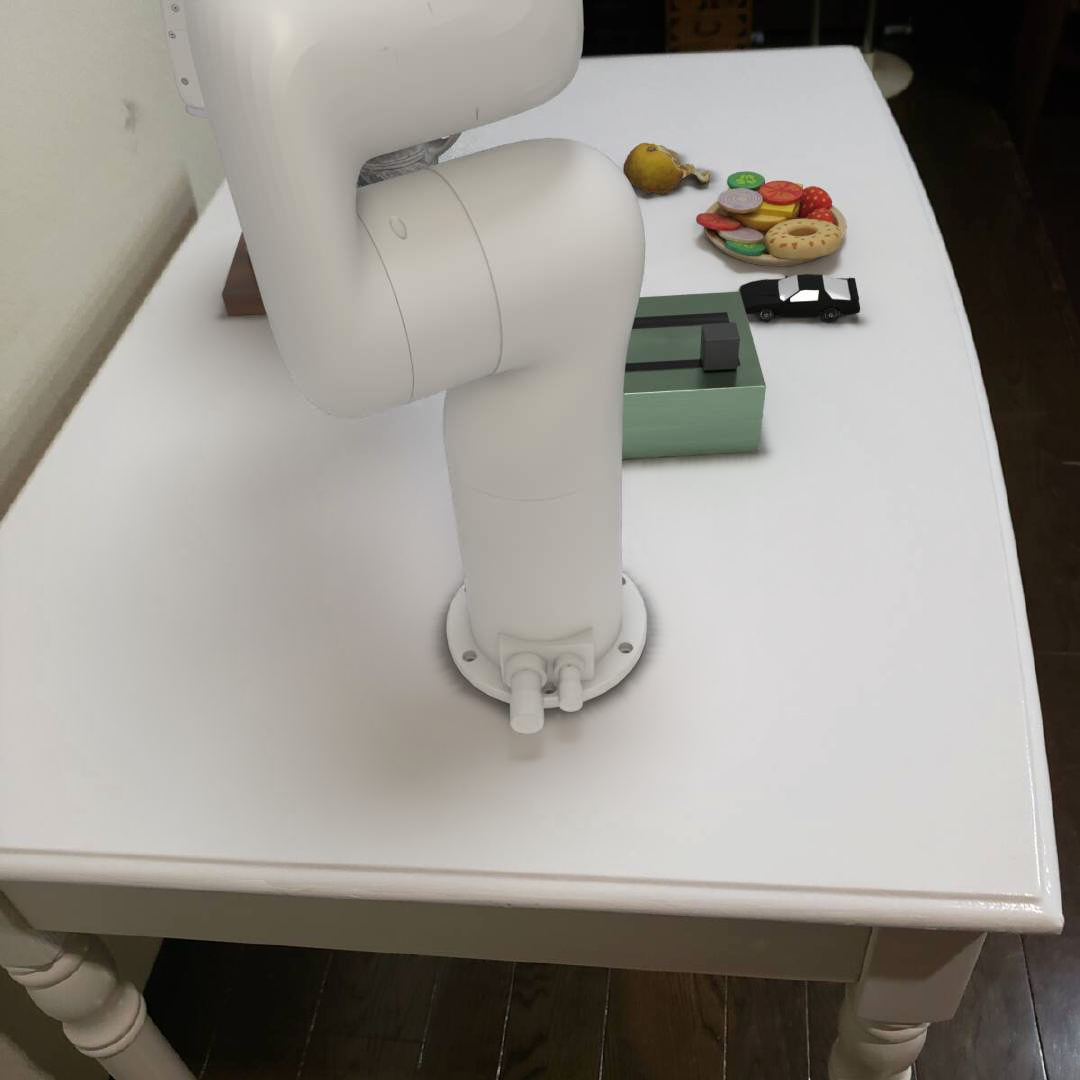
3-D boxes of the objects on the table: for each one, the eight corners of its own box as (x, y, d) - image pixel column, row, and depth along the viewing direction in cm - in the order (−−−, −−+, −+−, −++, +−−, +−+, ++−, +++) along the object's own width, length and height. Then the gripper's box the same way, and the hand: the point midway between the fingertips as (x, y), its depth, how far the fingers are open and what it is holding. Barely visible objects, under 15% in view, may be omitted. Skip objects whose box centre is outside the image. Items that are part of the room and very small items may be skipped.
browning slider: (737, 368, 79) (740, 338, 77) (703, 370, 79) (705, 340, 77) (733, 352, 80) (735, 321, 78) (699, 354, 80) (701, 323, 79)
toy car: (736, 322, 93) (738, 294, 92) (734, 295, 96) (736, 268, 94) (858, 323, 92) (863, 295, 91) (852, 296, 95) (857, 268, 93)
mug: (359, 164, 117) (342, 68, 110) (477, 161, 116) (468, 64, 109) (342, 210, 110) (323, 111, 103) (468, 207, 110) (457, 107, 102)
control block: (340, 309, 98) (332, 269, 95) (227, 316, 98) (216, 276, 95) (353, 238, 106) (346, 200, 104) (249, 245, 107) (239, 206, 104)
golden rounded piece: (720, 181, 111) (722, 146, 108) (655, 208, 107) (655, 173, 105) (667, 152, 116) (668, 117, 113) (603, 177, 112) (602, 142, 110)
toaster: (758, 451, 82) (766, 385, 77) (594, 460, 82) (593, 395, 78) (734, 355, 90) (740, 290, 86) (586, 363, 90) (584, 299, 86)
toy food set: (832, 284, 97) (837, 250, 94) (683, 264, 100) (684, 231, 98) (853, 208, 105) (858, 176, 103) (715, 193, 109) (717, 161, 107)
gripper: (101, -32, 80) (174, 205, 93) (308, -47, 79) (353, 193, 92) (126, -65, 85) (192, 163, 98) (320, -79, 85) (361, 152, 98)
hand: (270, 177), depth 95 cm, fingers closed
